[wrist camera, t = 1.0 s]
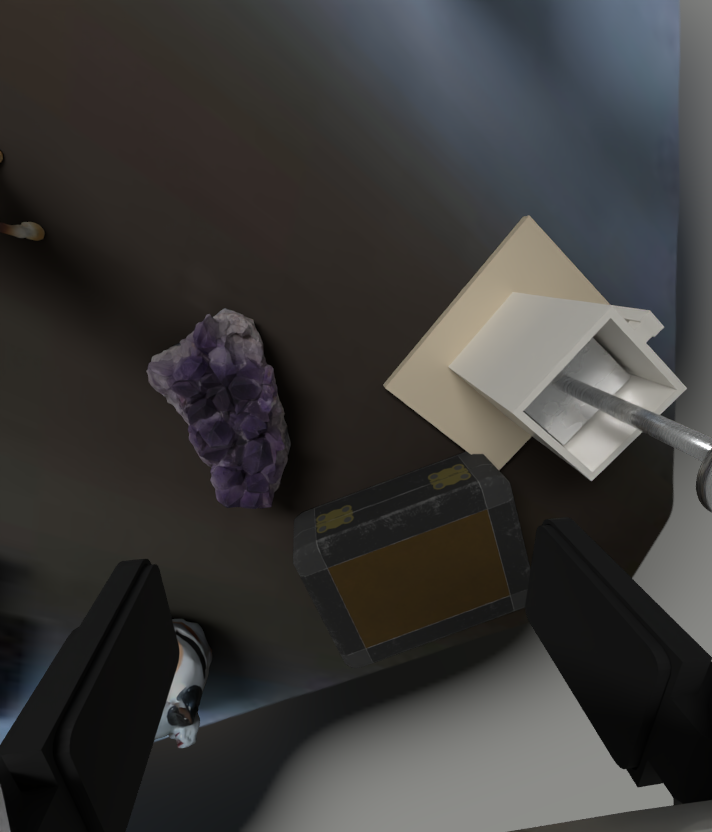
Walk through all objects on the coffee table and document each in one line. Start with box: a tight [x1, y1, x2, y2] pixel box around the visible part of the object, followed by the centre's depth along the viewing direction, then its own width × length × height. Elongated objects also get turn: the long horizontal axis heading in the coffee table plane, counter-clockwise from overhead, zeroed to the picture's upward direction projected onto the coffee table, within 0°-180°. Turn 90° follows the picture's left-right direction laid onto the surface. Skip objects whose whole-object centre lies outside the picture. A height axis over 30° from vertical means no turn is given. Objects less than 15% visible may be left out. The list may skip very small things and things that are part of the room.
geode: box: [146, 308, 291, 509], centre depth 41 cm, size 20×12×10 cm, turn 17°
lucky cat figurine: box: [154, 619, 212, 748], centre depth 48 cm, size 17×14×16 cm
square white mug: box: [383, 216, 687, 481], centre depth 39 cm, size 22×18×16 cm
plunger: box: [524, 337, 712, 512], centre depth 26 cm, size 8×8×21 cm
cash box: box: [293, 451, 531, 668], centre depth 51 cm, size 25×20×8 cm
